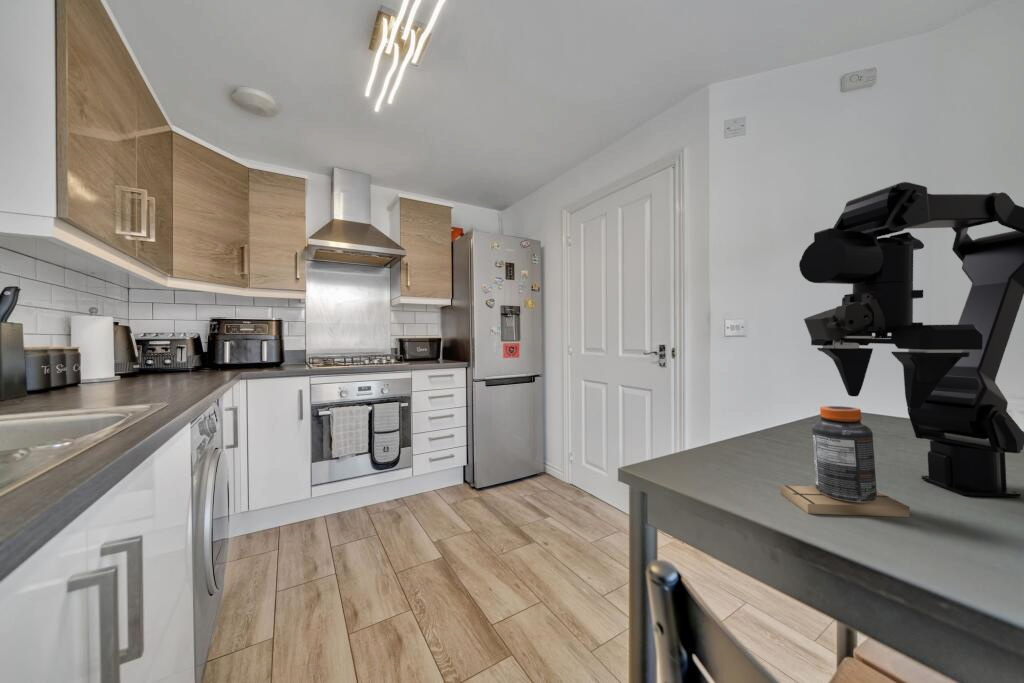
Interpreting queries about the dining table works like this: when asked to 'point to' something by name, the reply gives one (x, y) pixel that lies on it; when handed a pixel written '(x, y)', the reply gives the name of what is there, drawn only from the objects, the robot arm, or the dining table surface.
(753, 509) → the dining table surface
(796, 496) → the oak board
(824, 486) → the pill bottle
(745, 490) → the dining table surface
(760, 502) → the dining table surface
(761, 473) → the dining table surface
